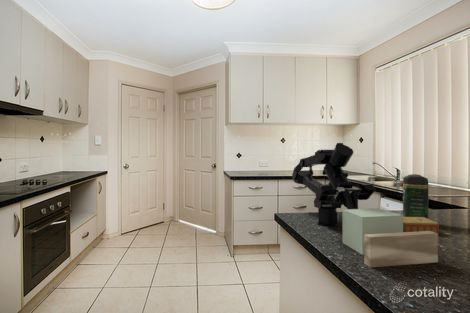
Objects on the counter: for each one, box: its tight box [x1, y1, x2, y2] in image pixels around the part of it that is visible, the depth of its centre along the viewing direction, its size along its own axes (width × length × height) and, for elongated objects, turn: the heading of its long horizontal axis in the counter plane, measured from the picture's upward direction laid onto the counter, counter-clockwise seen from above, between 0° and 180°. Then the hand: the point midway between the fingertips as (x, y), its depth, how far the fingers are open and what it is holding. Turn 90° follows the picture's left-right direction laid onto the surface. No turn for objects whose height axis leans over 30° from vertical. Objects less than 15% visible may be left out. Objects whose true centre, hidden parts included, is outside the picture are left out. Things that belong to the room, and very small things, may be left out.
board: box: [363, 231, 439, 268], centre depth 59 cm, size 2×18×7 cm, turn 98°
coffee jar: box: [402, 173, 430, 219], centre depth 95 cm, size 10×8×19 cm
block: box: [341, 207, 403, 256], centre depth 70 cm, size 9×12×10 cm
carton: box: [403, 217, 440, 236], centre depth 86 cm, size 8×16×4 cm, turn 81°
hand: (356, 214), depth 76 cm, fingers closed
